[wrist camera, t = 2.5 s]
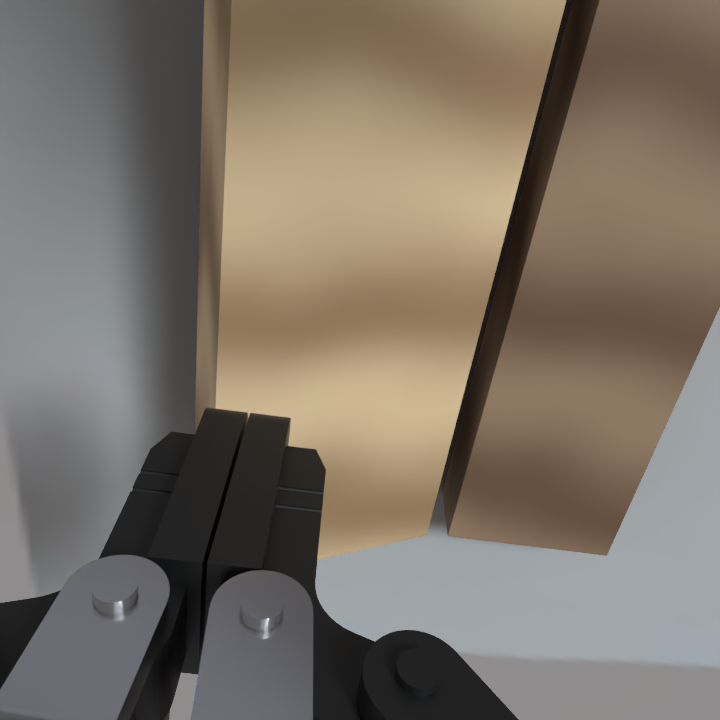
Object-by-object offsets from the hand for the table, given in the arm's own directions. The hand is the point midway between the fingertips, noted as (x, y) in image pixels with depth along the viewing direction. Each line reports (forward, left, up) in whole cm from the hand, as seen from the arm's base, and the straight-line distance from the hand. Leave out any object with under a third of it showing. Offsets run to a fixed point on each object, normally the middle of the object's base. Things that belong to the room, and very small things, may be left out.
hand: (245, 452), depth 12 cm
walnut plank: (0, +10, -11) cm, 15 cm away
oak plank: (0, +1, -9) cm, 9 cm away
